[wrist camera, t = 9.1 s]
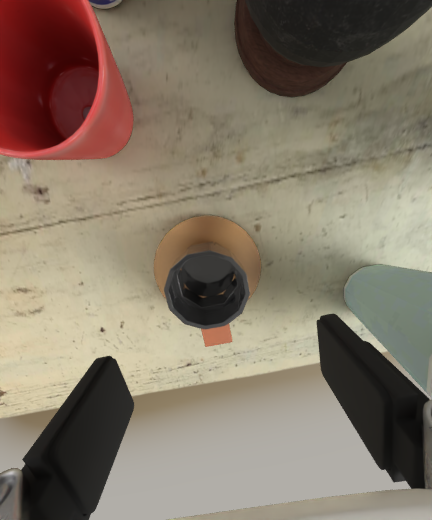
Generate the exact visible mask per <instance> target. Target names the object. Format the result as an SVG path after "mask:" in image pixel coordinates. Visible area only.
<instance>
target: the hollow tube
mask: <svg viewBox="0 0 432 520" xmlns="http://www.w3.org/2000/svg"><path fill="white" fill-rule="evenodd" d="M234 276H235V278H234V280H233V277H234ZM184 284H185V285H186V287H187V288H188V289H187V288H185V285H184ZM224 291H225V292H224ZM222 292H224V293H223V294H221V293H222ZM164 293H165V296H166V300H167V303H168V307H169V309H170V311H171V312H172V313H173V314H174V315H176V316H177V317H178V318H179V319H180V320H181V321H182V322H183V323H184V324H186V325H190V326H193V327H197V328H201V331H202V335H203V339H204V343H205V347H208V346H213V345H219V344H224V343H230V342H232V335H231V330H230V325H229V323H230V322H231V321H232V320H234V319H235V318H236V317H238V316H239V315H240V314H242V312H243V310H244V307H245V305H246V302H247V300H248V298H249V295H250V292H249V285H248V279H247V274H246V272H245V270H244V268H243V266H242V264H241V263H240V261H239V260H238V259H237V258H236V256H235V255H234V254H233V253H232V252H231V251H230V250H229V249H226V248H224V247H223V246H221V245H220V244H218V243H217V242H215V243H213V241H212V242H207V243H202V244H196V245H191V246H190V247H188V248H187V249H186V251H185V252H184V253H183V254H181V255H180V256H179V257H178V258H177V259H176V260H175V261H174V263H173V265H172V267H171V268H170V270H169V274H168V277H167V280H166V284H165V287H164ZM218 294H220V295H218ZM199 295H200V296H199ZM201 296H205V297H204V298H202V297H201Z"/></svg>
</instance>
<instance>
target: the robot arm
mask: <svg viewBox="0 0 432 520" xmlns="http://www.w3.org/2000/svg"><path fill="white" fill-rule="evenodd" d="M317 331H318V342H319V353H320V364H321V371H322V374H323V376H324V378H325V380H326V381H327V383H328V385H329V386H330V388H331V390H332V391H333V393H334V395H335V396H336V398H337V400H338V401H339V403H340V404H341V406H342V408H343V409H344V411H345V413H346V414H347V416H348V418H349V419H350V421H351V423H352V424H353V426H354V427H355V429H356V430H357V432H358V434H359V436H360V437H361V439H362V440H363V442H364V444H365V446H366V447H367V449H368V451H369V452H370V454H371V456H372V457H373V459H374V460H375V462H376V464H377V465H378V466H379V468H380V469H381V470H384V469H386V471H387V472H388V474H389V475H390V477H391V479H392V480H393V482H400V481H407V483H408V484H409V486H410V487H411V489H402V490H385V491H376V492H367V493H358V494H350V495H341V496H332V497H325V498H318V499H310V500H303V501H295V502H288V503H281V504H274V505H266V506H259V507H252V508H245V509H238V510H231V511H224V512H217V513H210V514H203V515H196V516H189V517H183V518H175V519H168V520H432V400H430V399H429V398H428V397H427V396H426V395H425V394H424V393H423V392H421V391H420V390H419V389H418V388H417V387H416V386H415V385H414V384H413V383H412V382H411V381H410V380H409V379H408V378H407V377H405V376H404V375H403V374H402V373H401V372H400V371H399V370H398V369H397V368H396V367H395V366H394V365H393V364H392V363H391V362H390V361H389V360H387V359H386V358H385V357H384V356H383V355H382V354H381V353H380V352H379V351H378V350H377V349H376V348H375V347H374V346H373V345H371V344H370V343H369V342H367V341H363V340H362V339H361V338H360V337H359V336H358V335H357V334H356V333H355V332H353V331H352V330H351V329H350V328H349V327H348V326H347V325H346V324H345V323H344V322H343V321H342V320H341V319H340V318H339V317H338V316H337V315H336V314H329V315H323V316H321V317H320V320H317ZM133 409H134V402H133V399H132V397H131V394H130V392H129V390H128V387H127V385H126V382H125V380H124V378H123V375H122V373H121V371H120V368H119V366H118V364H117V361H116V359H113V358H112V357H111V356H106V357H101V358H97V359H96V360H95V361H94V362H93V364H92V365H91V366H90V368H89V369H88V370H87V372H86V373H85V375H84V376H83V377H82V379H81V380H80V381H79V383H78V384H77V385H76V387H75V388H74V390H73V391H72V392H71V394H70V395H69V396H68V398H67V399H66V401H65V402H64V403H63V405H62V406H61V407H60V409H59V410H58V412H57V413H56V414H55V416H54V417H53V418H52V420H51V421H50V422H49V424H48V425H47V427H46V428H45V429H44V431H43V432H42V434H41V435H40V436H39V438H38V439H37V440H36V442H35V443H34V444H33V446H32V447H31V449H30V450H29V451H28V453H27V454H26V455H25V457H24V458H23V461H24V462H25V466H24V467H23V468H22V470H20V469H18V468H11V469H8V470H6V471H4V472H2V473H0V520H89V517H90V515H91V513H93V512H94V511H95V509H96V507H97V505H98V502H99V499H100V497H101V494H102V492H103V489H104V486H105V484H106V481H107V479H108V476H109V473H110V471H111V468H112V465H113V463H114V460H115V457H116V455H117V452H118V449H119V447H120V444H121V441H122V439H123V436H124V434H125V431H126V428H127V426H128V423H129V420H130V418H131V415H132V412H133Z"/></svg>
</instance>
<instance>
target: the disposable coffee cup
mask: <svg viewBox="0 0 432 520" xmlns="http://www.w3.org/2000/svg"><path fill="white" fill-rule="evenodd" d="M344 300H345V301H346V304H347V306H348V307H349V308H350V310H351V311H352V312H353V314H354V315H355V316H356V317H357V318H358V319H359V320H360V321H361V322H362V323H363V324H364V325H365V327H366V328H367V329H368V330H369V331H370V332H371V333H372V334H373V335H374V336H375V337H376V338H377V340H378V341H379V342H380V343H381V344H382V345H383V346H384V347H385V348H386V349H387V350H388V351H389V352H390V354H391V355H392V356H393V357H394V358H395V359H396V360H397V361H398V362H399V363H400V364H401V365H402V366H403V368H404V369H405V370H406V371H407V372H408V373H409V374H410V375H411V376H412V377H413V378H414V380H415V381H416V382H417V383H418V384H419V385H420V386H421V387H422V388H423V389H424V390H425V391H426V392H427V394H429V396H430V397H431V399H432V272H425V271H419V270H413V269H407V268H401V267H395V266H389V265H382V264H379V265H372V266H366V267H361V268H360V269H359V270H357V271H356V272H354V273H353V274H352V275H350V277H349V279H348V281H347V282H346V284H345V286H344Z"/></svg>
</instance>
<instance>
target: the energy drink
mask: <svg viewBox="0 0 432 520" xmlns="http://www.w3.org/2000/svg"><path fill="white" fill-rule="evenodd" d="M121 1H122V0H89V2H90V4H91V6H94V7H97V8H102V9H107V8H112V7H114V6H116V5H118V4H119V3H120V2H121Z"/></svg>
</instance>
